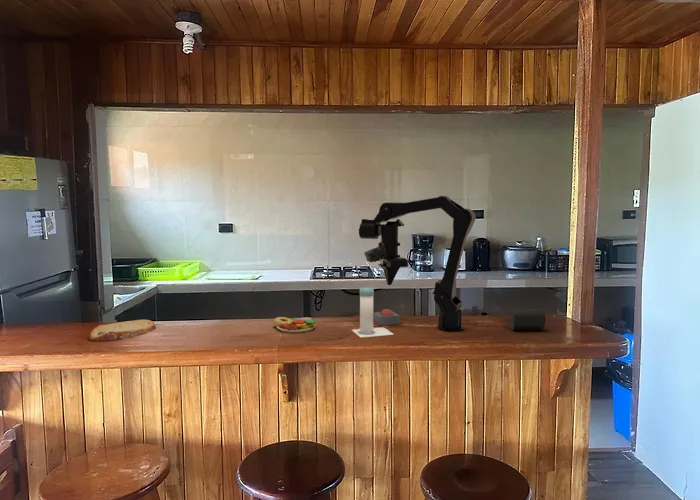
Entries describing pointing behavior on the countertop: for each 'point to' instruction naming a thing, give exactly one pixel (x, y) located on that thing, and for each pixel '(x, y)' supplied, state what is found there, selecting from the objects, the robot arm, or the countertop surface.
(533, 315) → the end cap
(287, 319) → the toy food set
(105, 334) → the slice of bread
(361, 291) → the teal and white bottle
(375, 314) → the button housing
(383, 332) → the paper
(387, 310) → the button
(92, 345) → the countertop surface
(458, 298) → the robot arm
